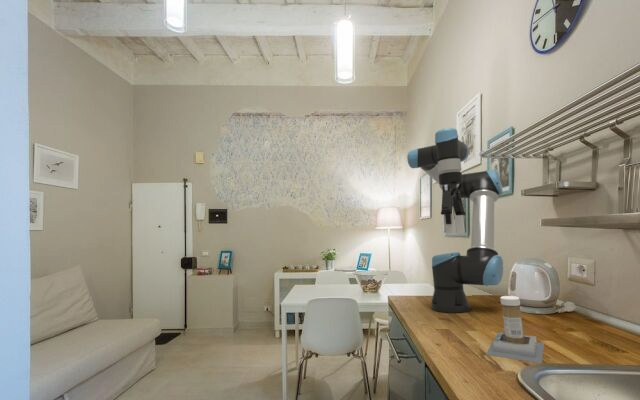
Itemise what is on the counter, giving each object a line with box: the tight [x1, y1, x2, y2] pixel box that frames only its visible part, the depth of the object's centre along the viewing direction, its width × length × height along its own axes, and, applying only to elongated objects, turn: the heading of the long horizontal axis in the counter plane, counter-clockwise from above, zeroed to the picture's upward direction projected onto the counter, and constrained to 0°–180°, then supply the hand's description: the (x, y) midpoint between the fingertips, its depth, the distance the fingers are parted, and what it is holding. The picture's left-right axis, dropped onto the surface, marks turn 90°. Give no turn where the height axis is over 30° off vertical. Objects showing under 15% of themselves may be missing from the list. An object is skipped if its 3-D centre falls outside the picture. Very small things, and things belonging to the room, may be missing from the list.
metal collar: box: [492, 331, 537, 357], centre depth 86 cm, size 9×9×2 cm
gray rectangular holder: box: [485, 341, 545, 365], centre depth 86 cm, size 16×12×1 cm
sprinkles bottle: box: [499, 295, 525, 344], centre depth 87 cm, size 5×5×14 cm
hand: (455, 234), depth 111 cm, fingers open, 13 cm apart
